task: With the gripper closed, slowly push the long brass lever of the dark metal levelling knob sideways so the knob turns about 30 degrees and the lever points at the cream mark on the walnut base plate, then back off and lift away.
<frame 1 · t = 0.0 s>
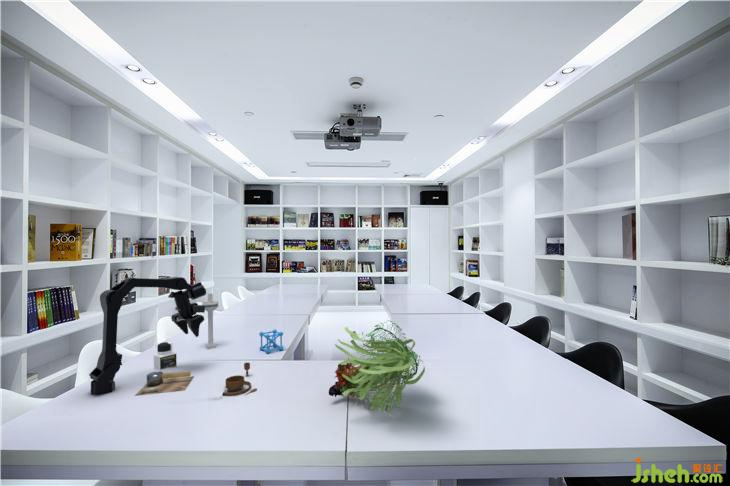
hand: (192, 335, 160), 15 cm above the table, tool pointing down, fingers open, 9 cm apart
place setting: (242, 387, 139), on the table
medicine bottle: (165, 369, 161), on the table
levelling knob: (169, 377, 140), point 4 cm above the table, hinge at 0.0°
base plate: (166, 389, 137), on the table
plant: (378, 400, 125), on the table
model tower: (210, 347, 194), on the table
molecular structure: (271, 350, 187), on the table
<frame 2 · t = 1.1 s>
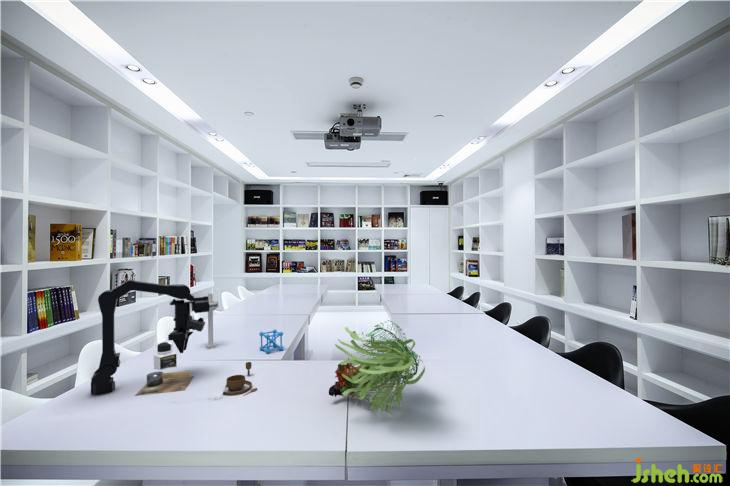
hand: (183, 351, 147), 12 cm above the table, tool pointing down, fingers open, 4 cm apart
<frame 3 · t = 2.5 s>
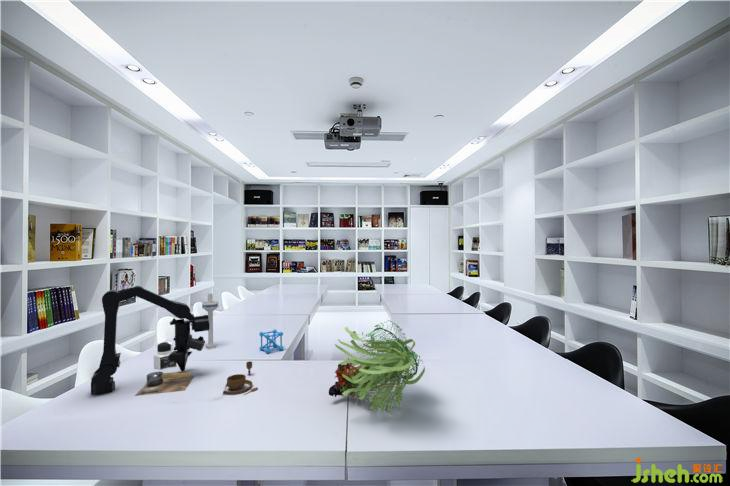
hand: (183, 370, 146), 4 cm above the table, tool pointing down, fingers closed
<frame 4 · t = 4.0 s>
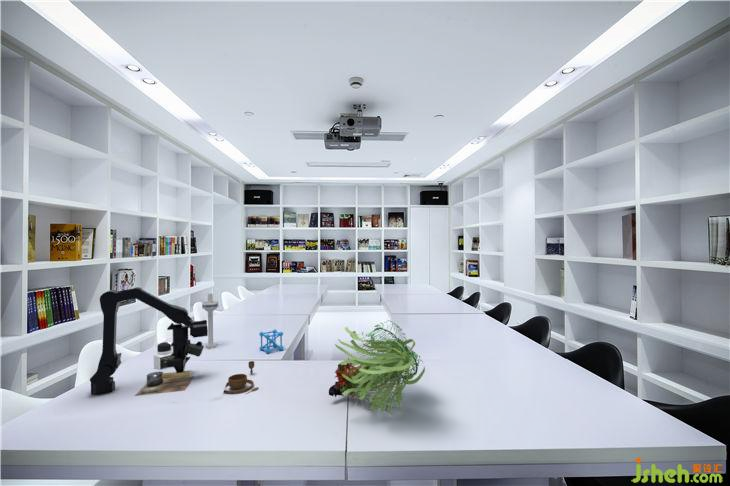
hand: (181, 376, 143), 2 cm above the table, tool pointing down, fingers closed
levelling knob: (169, 377, 140), point 4 cm above the table, hinge at -0.2°, touching gripper
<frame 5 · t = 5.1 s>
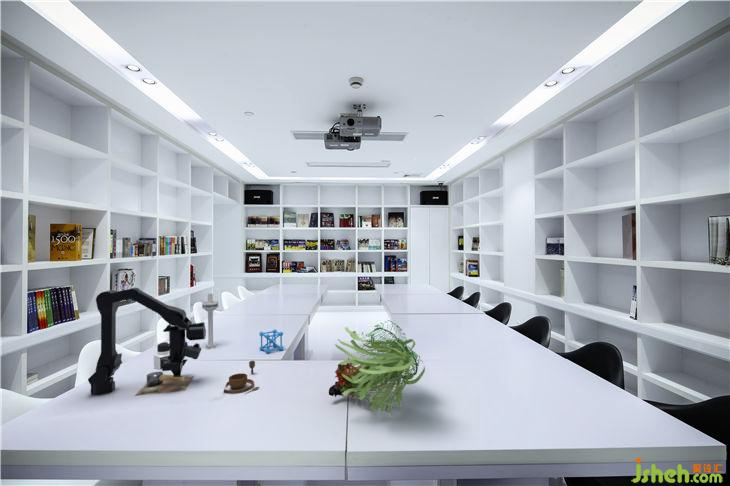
hand: (178, 379, 140), 3 cm above the table, tool pointing down, fingers closed
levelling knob: (165, 379, 138), point 4 cm above the table, hinge at -25.5°, touching gripper
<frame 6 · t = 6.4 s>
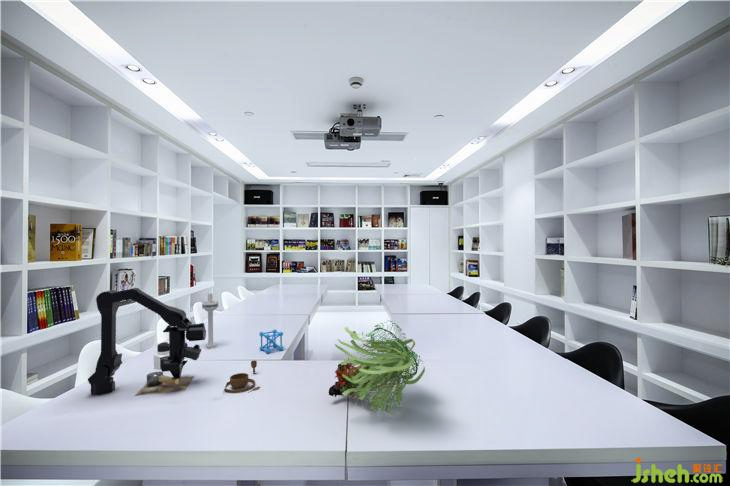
hand: (177, 381, 139), 3 cm above the table, tool pointing down, fingers closed
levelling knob: (163, 380, 137), point 4 cm above the table, hinge at -38.4°
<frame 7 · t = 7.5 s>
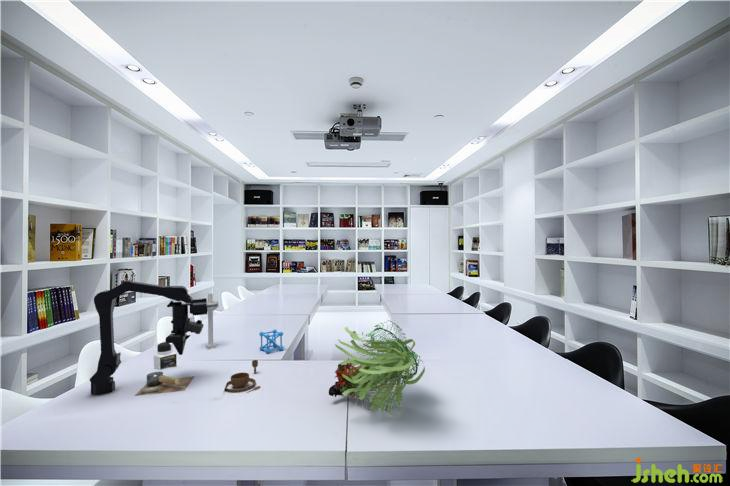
hand: (181, 354, 143), 12 cm above the table, tool pointing down, fingers closed
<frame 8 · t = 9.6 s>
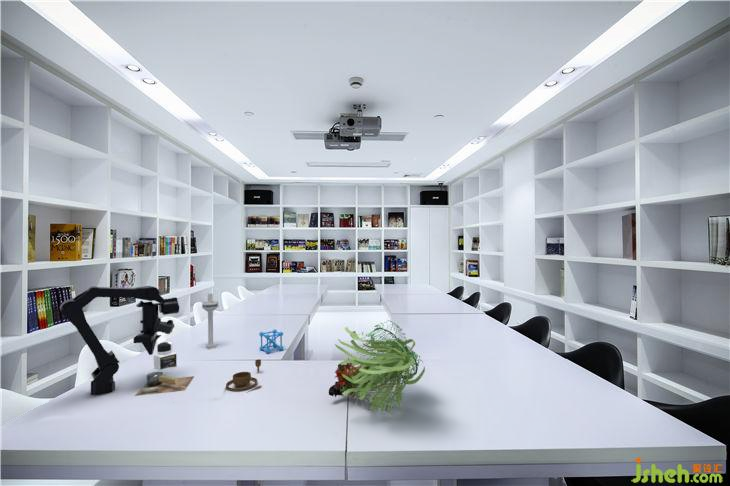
hand: (150, 354, 143), 12 cm above the table, tool pointing down, fingers closed
at the end: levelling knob at -38° (first picture: +0°); medicine bottle moved 0.2 cm from its start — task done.
